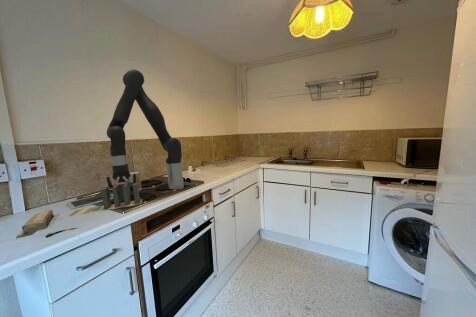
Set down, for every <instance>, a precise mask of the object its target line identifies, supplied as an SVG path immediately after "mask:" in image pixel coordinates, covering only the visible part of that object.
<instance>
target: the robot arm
mask: <svg viewBox="0 0 476 317" xmlns="http://www.w3.org/2000/svg"><path fill="white" fill-rule="evenodd" d="M122 83H123V84H124V90H123V92H122V95H121V96H120V99H119V100H118V102H117V104H116V107H115V109H114V112H113V117H112V119H111V120H110V123H109V124H108V127H107V129H106V135H107V136H106V137H107V138H108V139H109V140H110V146H109V148H110V149H109V150H110V162H111V168H112V176H109V175H108V176H107V177H106V182H107V187H108V189H112V188H113V187H114V186H116V185H119V183H121V184H122V183H126V184H127V183H128V184H129V191H130V194H132V193H134V192H133V184H134V183H136V173H134V174H130V173H131V172H130V169H129V161H128V156H127V151H126V132H125V130H124V128H125V126H126V124H127V123H128V121H129V119H130V117H131V116H130V115H131V113H132V109H133V107H134V104H135V101H136V103H137V105H138V107H139V108H140V110H141V112H142V114H143V115H144V117H145V119H146V120H147V122H148V124H149V125H150V126H151V129H153V131H154V133H155V134H156V136H157V138H158V140H159V142H160V144H161V146H162V148H163V150H165V152H167V158H165V161H166V162H165V163H166V174H167V181H168V189H170V190H175V191H177V190H182V189H184V188H185V187H184V186H185V185H184V174H183V167H182V157H183V154H182V152H183V151H182V143H181V141H180V140H179V139H178V138H176V137H172V136H171V134H170V133H169V131H168V130H167V126H166V121H165V118H164V116H163V115H164V114H162V112H161V110H160V108H159V106H157V104H156V103H155V102H154V101H153V100H152V99H151V98H150V97H149V96H148V94H147V93H146V92H145V90H144V88H143V85H144V83H145V77H144V75H143V73H142V72H141V71H140V70H137V69H135V68H133V69H130V70H128V71H127V72H125V73H124V75H123V77H122ZM130 176H132V178H133V183H132V182H131V181H130V179H129V177H130ZM113 180H114V181H115V182H114V184H113V183H112V181H113Z"/></svg>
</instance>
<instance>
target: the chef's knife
mask: <svg viewBox="0 0 476 317" xmlns="http://www.w3.org/2000/svg"><path fill="white" fill-rule="evenodd" d="M76 229H77V227H73V228H68V229H63V230H58V231H57V230H56V231H55V232H52V233H49V234H47V235H45V238H50V237H52V236H55V235H58V234H59V233H62V232H65V231H69V230H71V231H73V230H76Z"/></svg>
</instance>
